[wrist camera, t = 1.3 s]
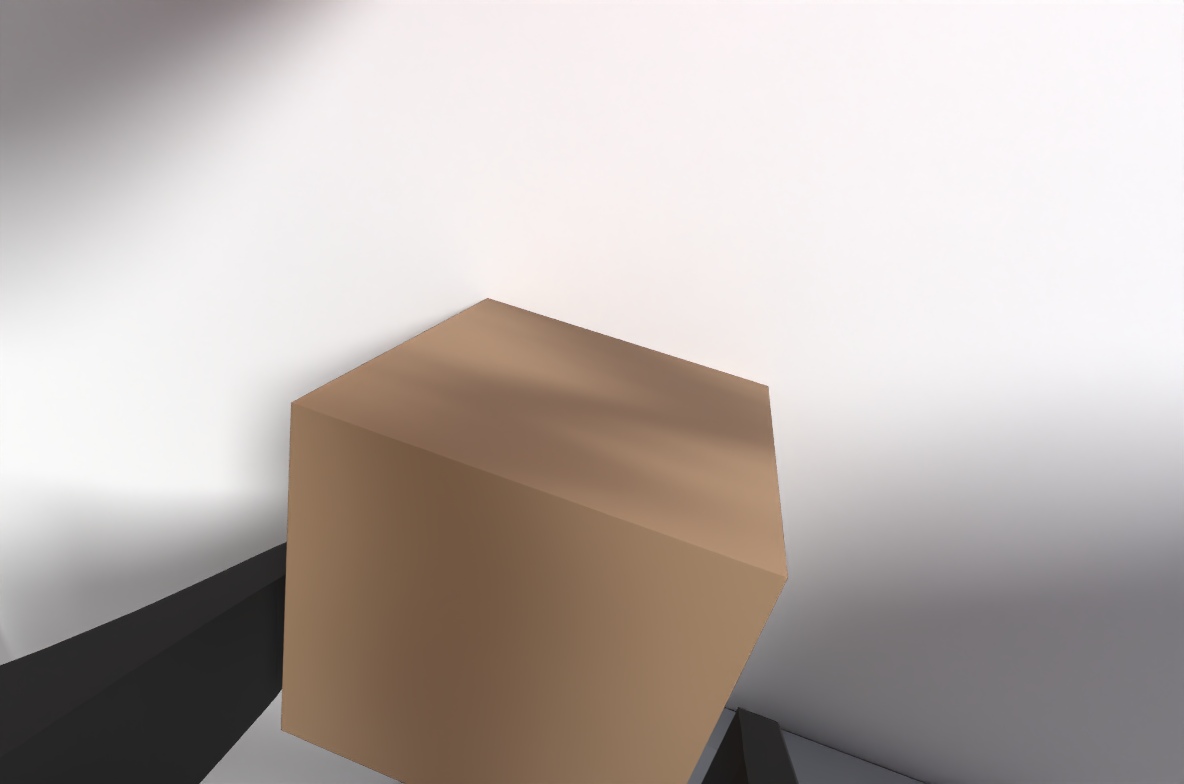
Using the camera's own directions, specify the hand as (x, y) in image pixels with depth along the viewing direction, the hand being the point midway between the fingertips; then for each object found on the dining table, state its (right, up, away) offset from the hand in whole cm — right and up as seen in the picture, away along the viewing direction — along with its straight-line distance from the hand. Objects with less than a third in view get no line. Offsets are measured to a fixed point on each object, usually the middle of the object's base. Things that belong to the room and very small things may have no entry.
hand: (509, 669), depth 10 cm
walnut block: (+1, +3, +1) cm, 4 cm away
